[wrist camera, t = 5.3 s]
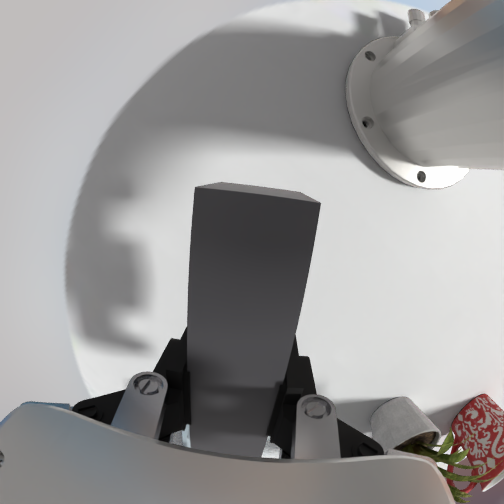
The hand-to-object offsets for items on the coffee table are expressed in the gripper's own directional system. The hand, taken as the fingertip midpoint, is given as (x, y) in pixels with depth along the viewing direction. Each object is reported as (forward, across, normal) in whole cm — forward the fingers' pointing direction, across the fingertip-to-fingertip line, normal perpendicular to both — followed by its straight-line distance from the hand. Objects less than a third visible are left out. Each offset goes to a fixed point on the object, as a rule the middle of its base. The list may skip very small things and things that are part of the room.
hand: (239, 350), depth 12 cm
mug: (+9, -33, +19) cm, 39 cm away
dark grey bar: (0, 0, 0) cm, 0 cm away
